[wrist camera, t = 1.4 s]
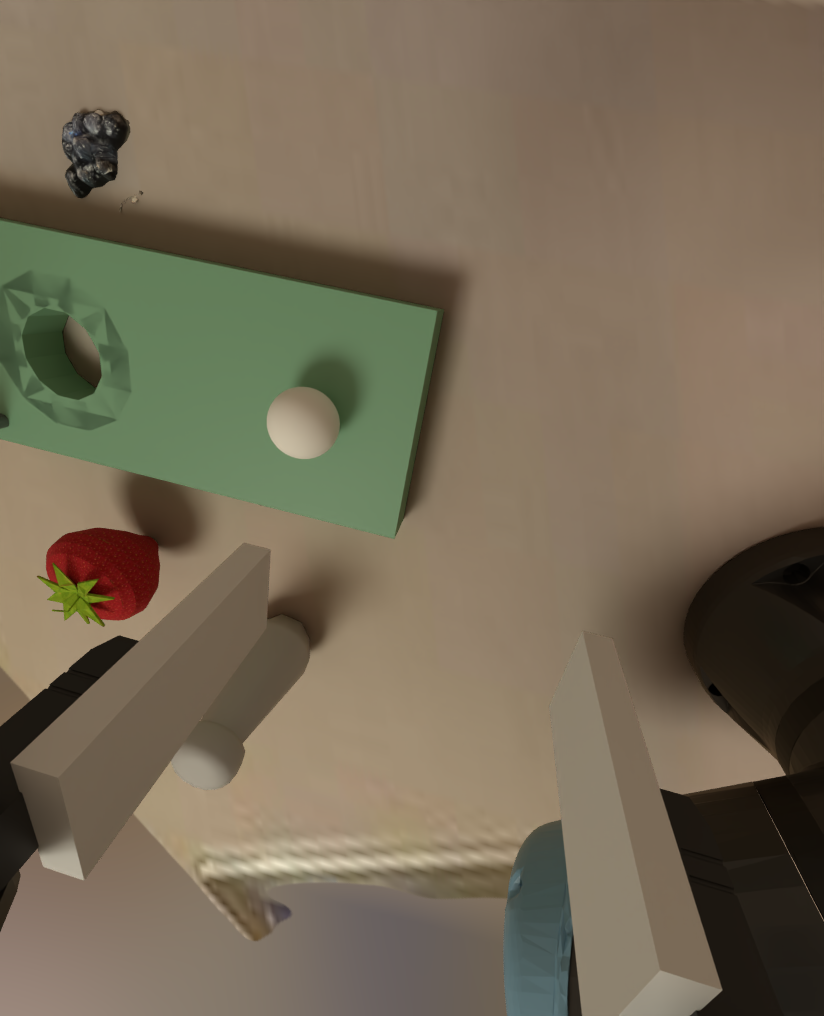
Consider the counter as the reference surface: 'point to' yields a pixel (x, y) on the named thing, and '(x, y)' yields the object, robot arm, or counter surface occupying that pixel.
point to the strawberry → (102, 573)
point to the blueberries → (94, 149)
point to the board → (212, 373)
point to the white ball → (303, 422)
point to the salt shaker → (243, 705)
